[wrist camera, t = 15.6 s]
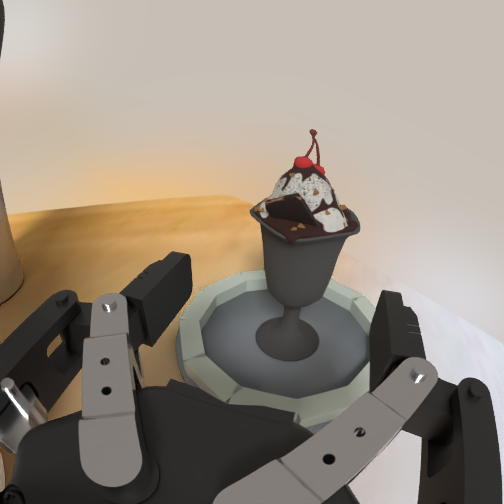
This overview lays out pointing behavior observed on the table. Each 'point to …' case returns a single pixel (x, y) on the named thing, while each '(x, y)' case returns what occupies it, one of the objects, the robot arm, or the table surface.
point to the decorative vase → (2, 475)
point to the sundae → (299, 252)
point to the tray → (270, 369)
